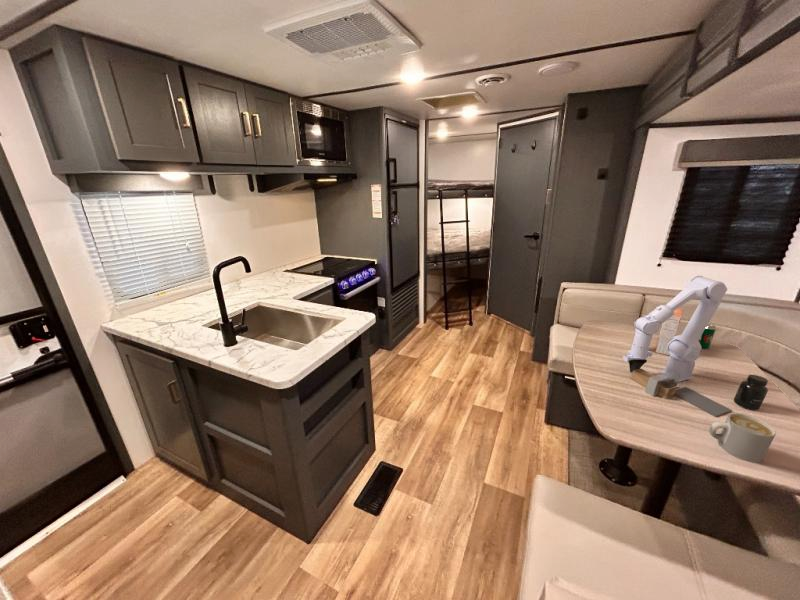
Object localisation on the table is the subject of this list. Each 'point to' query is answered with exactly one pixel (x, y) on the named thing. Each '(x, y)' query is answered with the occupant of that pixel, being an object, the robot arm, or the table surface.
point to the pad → (701, 402)
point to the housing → (656, 382)
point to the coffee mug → (744, 436)
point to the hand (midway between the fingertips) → (633, 372)
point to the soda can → (707, 336)
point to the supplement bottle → (751, 392)
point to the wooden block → (643, 378)
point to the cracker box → (668, 332)
